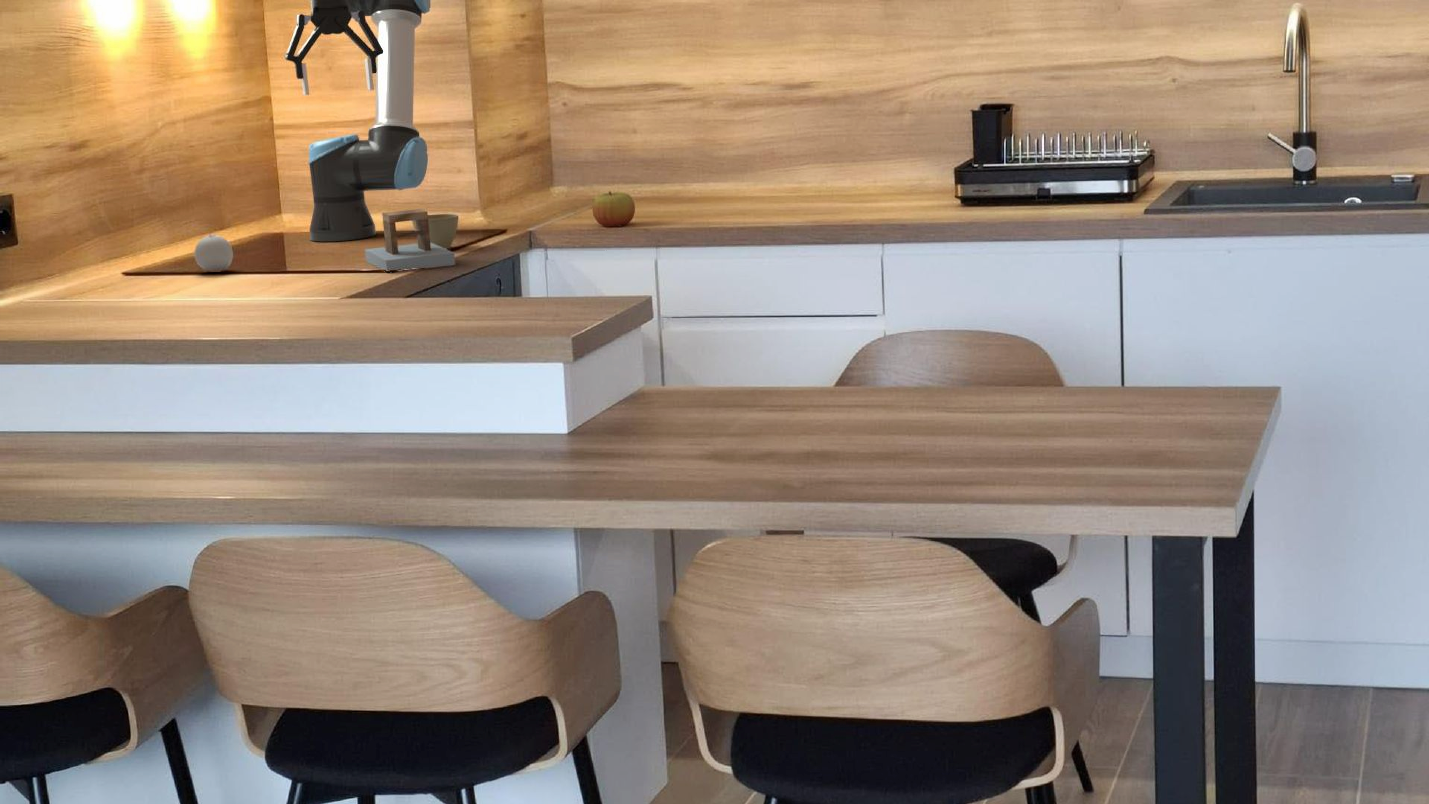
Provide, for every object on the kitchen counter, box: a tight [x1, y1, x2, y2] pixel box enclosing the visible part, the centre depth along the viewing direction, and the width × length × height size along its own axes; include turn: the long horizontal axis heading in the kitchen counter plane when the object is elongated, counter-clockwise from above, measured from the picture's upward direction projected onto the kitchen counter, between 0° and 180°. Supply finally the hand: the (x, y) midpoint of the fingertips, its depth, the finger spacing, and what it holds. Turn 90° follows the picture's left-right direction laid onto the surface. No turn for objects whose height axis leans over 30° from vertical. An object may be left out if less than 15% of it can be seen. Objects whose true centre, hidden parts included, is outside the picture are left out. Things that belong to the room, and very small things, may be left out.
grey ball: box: [193, 233, 234, 271], centre depth 362 cm, size 8×8×8 cm
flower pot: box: [411, 213, 459, 249], centre depth 376 cm, size 10×10×7 cm
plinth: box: [364, 242, 456, 271], centre depth 359 cm, size 20×14×2 cm
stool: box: [382, 208, 431, 255], centre depth 358 cm, size 8×6×8 cm
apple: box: [591, 190, 636, 228], centre depth 398 cm, size 10×10×8 cm
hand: (338, 92), depth 366 cm, fingers open, 13 cm apart
